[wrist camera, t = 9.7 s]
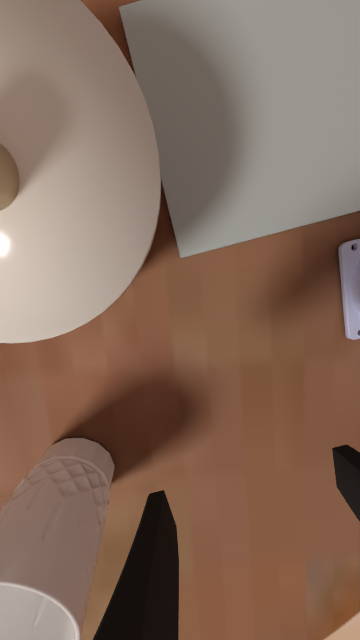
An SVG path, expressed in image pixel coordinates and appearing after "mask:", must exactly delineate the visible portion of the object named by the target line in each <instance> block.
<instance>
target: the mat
mask: <svg viewBox="0 0 360 640" xmlns="http://www.w3.org/2000/svg"><path fill="white" fill-rule="evenodd" d="M119 11H120V15H121V19H122V23H123V27H124V32H125V36H126V40H127V44H128V48H129V52H130V56H131V60H132V64H133V68H134V72H135V76H136V80H137V82H138V84H139V86H140V89H141V91H142V93H143V96H144V98H145V101H146V104H147V107H148V110H149V114H150V117H151V120H152V123H153V127H154V132H155V137H156V142H157V148H158V153H159V164H160V177H161V181H162V185H163V189H164V193H165V197H166V201H167V205H168V209H169V213H170V218H171V222H172V226H173V230H174V234H175V238H176V242H177V246H178V250H179V254H180V258H183V257H187V256H191V255H195V254H198V253H202V252H206V251H210V250H214V249H217V248H221V247H225V246H229V245H232V244H236V243H240V242H244V241H248V240H251V239H255V238H259V237H263V236H266V235H270V234H274V233H278V232H281V231H285V230H289V229H293V228H297V227H300V226H304V225H308V224H312V223H315V222H319V221H323V220H327V219H331V218H334V217H338V216H342V215H346V214H349V213H353V212H357V211H360V0H141V1H137V2H134V3H130V4H127V5H123V6H120V7H119Z"/></svg>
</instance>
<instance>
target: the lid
mask: <svg viewBox="0 0 360 640" xmlns="http://www.w3.org/2000/svg"><path fill="white" fill-rule="evenodd" d="M160 198H161V177H160V164H159V153H158V148H157V142H156V137H155V132H154V127H153V123H152V120H151V117H150V114H149V110H148V107H147V104H146V101H145V98H144V96H143V93H142V91H141V89H140V86H139V84H138V82H137V80H136V77H135V75H134V73H133V71H132V69H131V67H130V66H129V64H128V62H127V60H126V59H125V57H124V55H123V54H122V52H121V50H120V48H119V47H118V45H117V44H116V42H115V41H114V40H113V38H112V37H111V36H110V34H109V33H108V32H107V30H106V29H105V27H104V26H103V25H102V23H101V22H100V21H99V20H98V19H97V18H96V17H95V15H94V14H93V13H92V12H91V11H90V10H89V9H88V8H87V7H86V6H85V5H84V4H83V3H82V1H81V0H0V343H23V342H33V341H38V340H43V339H48V338H52V337H55V336H58V335H61V334H64V333H67V332H70V331H72V330H74V329H76V328H78V327H80V326H82V325H84V324H86V323H87V322H89V321H91V320H92V319H94V318H95V317H96V316H98V315H99V314H101V313H102V312H104V311H105V310H107V309H108V308H109V307H110V306H111V305H112V304H113V303H114V302H116V301H117V300H118V299H119V298H120V297H121V296H122V295H123V293H124V292H125V291H126V290H127V289H128V287H129V286H130V285H131V284H132V283H133V281H134V279H135V278H136V276H137V275H138V273H139V271H140V270H141V268H142V266H143V264H144V262H145V260H146V258H147V255H148V253H149V251H150V249H151V245H152V242H153V239H154V236H155V232H156V229H157V223H158V217H159V211H160Z"/></svg>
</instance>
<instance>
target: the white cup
mask: <svg viewBox="0 0 360 640" xmlns="http://www.w3.org/2000/svg"><path fill="white" fill-rule="evenodd" d="M114 468H115V466H114V463H113V461H112V458H111V455H110V453H109V452H108V451H107V450H106V449H104V448H103V447H102V446H101V445H100V444H99V443H97V442H94V441H91V440H88V439H85V438H66V439H63V440H61V441H59V442H57V443H55V444H53V445H51V446H50V447H49V449H48V450H47V451H46V453H45V454H44V455H43V457H42V458H41V459H40V461H39V462H38V463H37V465H36V466H35V467H34V468H33V469H32V471H31V472H30V473H29V474H28V475H26V476H25V477H24V479H23V480H22V482H21V483H20V484H19V485H18V486H17V488H16V489H15V490H14V491H13V492H12V494H11V495H10V496H9V498H8V499H7V500H6V502H5V503H4V504H3V505H2V507H1V508H0V640H80V638H81V634H82V629H83V624H84V619H85V615H86V610H87V605H88V601H89V596H90V591H91V587H92V582H93V577H94V573H95V568H96V563H97V559H98V554H99V549H100V545H101V540H102V535H103V531H104V526H105V522H106V514H107V509H108V505H109V493H110V489H111V484H112V480H113V474H114Z"/></svg>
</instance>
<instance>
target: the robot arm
mask: <svg viewBox="0 0 360 640" xmlns="http://www.w3.org/2000/svg"><path fill="white" fill-rule="evenodd" d="M352 245H353V246H354V249H353V250H352V249H351V246H352ZM338 253H339V264H340V275H341V287H342V298H343V310H344V321H345V333H346V337H347V338H349V339H352V340H355V339H359V338H360V332H359V333H358V331H359V330H360V239H356V240H352V241H348V242H344V243H342V244H341V245H340V246H339V249H338ZM332 450H333V458H334V467H335V475H336V484H337V488H338V489H339V491H340V492H341V494H342V496H343V497H344V499H345V500H346V502H347V503H348V505H349V506H350V508H351V509H352V511H353V512H354V514H355V515H356V517H357V518H358V520H359V521H360V452H358V451H356V450H355V449H353V448H352V447H350V446H348V445H343V446H339V447H335V448H332ZM178 612H179V556H178V542H177V529H176V524H175V521H174V518H173V515H172V512H171V509H170V506H169V504H168V501H167V498H166V495H165V492H164V490H163V491H159V492H155V493H150V494H149V496H148V498H147V502H146V505H145V508H144V511H143V515H142V518H141V521H140V524H139V527H138V530H137V532H136V535H135V538H134V541H133V544H132V546H131V549H130V552H129V555H128V557H127V560H126V563H125V565H124V568H123V571H122V573H121V575H120V578H119V580H118V583H117V585H116V588H115V590H114V593H113V595H112V598H111V600H110V602H109V605H108V607H107V609H106V612H105V614H104V616H103V619H102V621H101V623H100V625H99V627H98V630H97V632H96V634H95V636H94V638H93V640H178Z"/></svg>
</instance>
